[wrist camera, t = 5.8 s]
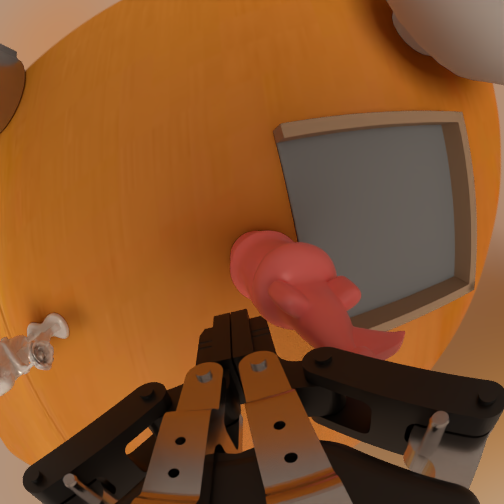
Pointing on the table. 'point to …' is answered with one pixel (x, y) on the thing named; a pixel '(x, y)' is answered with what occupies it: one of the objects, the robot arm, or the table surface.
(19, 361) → the figurine
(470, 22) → the vase
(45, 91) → the table surface
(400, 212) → the tray
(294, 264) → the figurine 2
